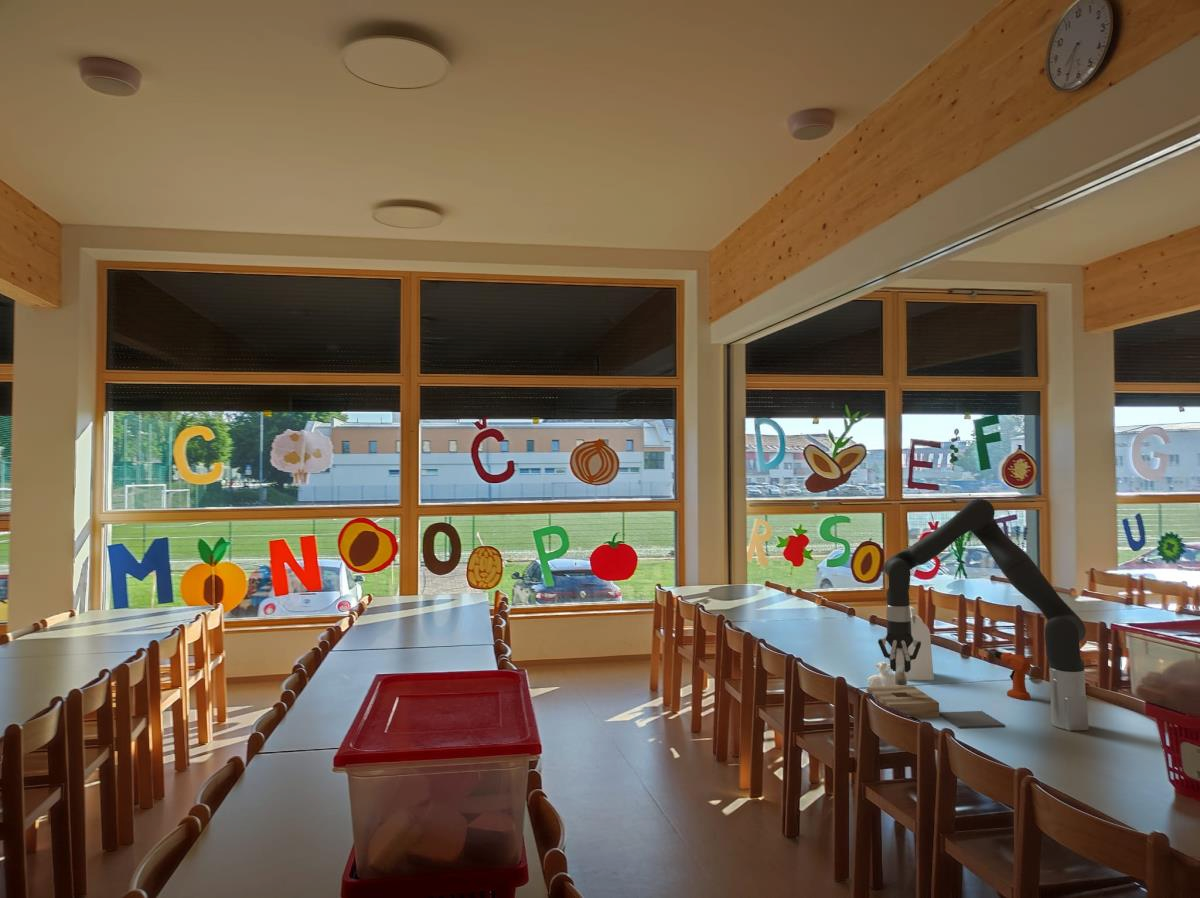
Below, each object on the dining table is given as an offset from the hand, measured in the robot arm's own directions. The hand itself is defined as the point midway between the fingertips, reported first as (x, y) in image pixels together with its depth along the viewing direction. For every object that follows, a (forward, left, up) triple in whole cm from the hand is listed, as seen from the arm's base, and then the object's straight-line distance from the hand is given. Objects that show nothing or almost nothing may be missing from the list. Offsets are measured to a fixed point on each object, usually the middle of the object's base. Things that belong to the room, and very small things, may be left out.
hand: (900, 670), depth 259 cm
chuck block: (0, 0, -12) cm, 12 cm away
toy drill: (+13, -42, -12) cm, 46 cm away
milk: (+40, -20, -12) cm, 46 cm away
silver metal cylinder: (0, 0, -4) cm, 4 cm away
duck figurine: (+20, -2, -12) cm, 24 cm away
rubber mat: (-14, -16, -12) cm, 25 cm away
